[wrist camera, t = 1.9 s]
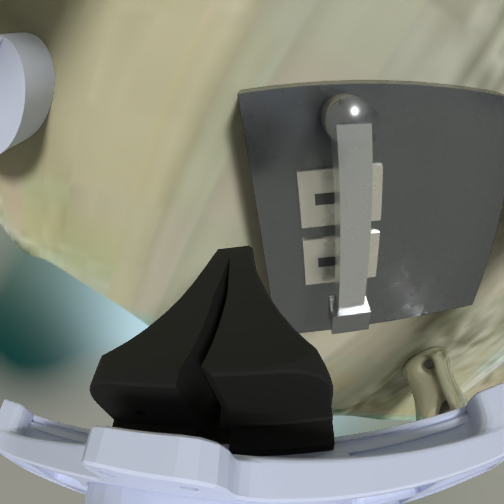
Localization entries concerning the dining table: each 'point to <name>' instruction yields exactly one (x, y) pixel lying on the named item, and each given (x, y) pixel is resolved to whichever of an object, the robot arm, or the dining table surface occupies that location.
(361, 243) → the grey ball-ended handle
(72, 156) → the dining table surface
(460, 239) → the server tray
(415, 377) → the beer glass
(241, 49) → the dining table surface
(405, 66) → the dining table surface
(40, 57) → the wedge on round base
